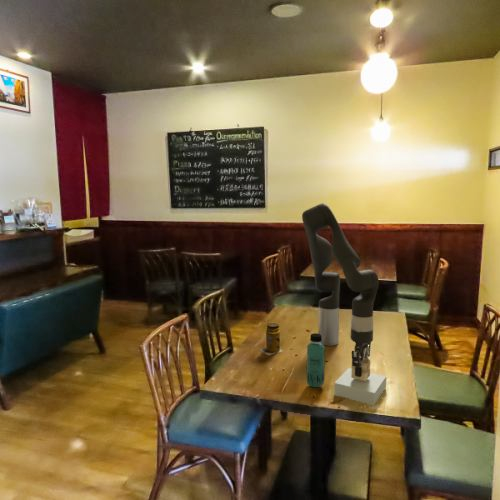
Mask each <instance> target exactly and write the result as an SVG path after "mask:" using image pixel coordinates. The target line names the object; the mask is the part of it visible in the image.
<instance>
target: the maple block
mask: <svg viewBox="0 0 500 500" xmlns="http://www.w3.org/2000/svg"><path fill="white" fill-rule="evenodd" d="M360 358H361V357H360ZM357 363H358V362H357ZM351 368H352V374H351V378H355V379H359V380H363V381H366V380H367V378H368V377H369V376H370V373H371V359H369V358H368V359H366V358H364V360H363V361H362V376H361V377H357V376H355V366H352V365H351Z"/></svg>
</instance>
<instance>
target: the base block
mask: <svg viewBox="0 0 500 500" xmlns="http://www.w3.org/2000/svg"><path fill="white" fill-rule="evenodd" d="M351 374H352V367H347V369H346V370H345V371H344V372H343V373H342V374H341V375H340V376H339V378H338V379H337V380H335V381H334V396H336V397H340V396H341V397H340V398H343V397H345V398H344V399H347V398H349V399H348V400H351V399H353V400H352V401H354V400H356V401H355V402H358V401H360V402H359V403H362V402H363V403H362V404H365V403H367V405H369V404H371V405H370V406H373V405H375V406H376V404H377V403H376V402H378V401H379V400H380V398H381V397H382V395H383V394H384V392H385V391H386V389H387V375H381V374H378V373H373V372H370V376H369V377H368V378H367V380H366V381H363V380H359V379H355V378H351ZM385 388H386V389H385ZM384 390H385V391H384ZM383 391H384V392H383ZM382 393H383V394H382ZM381 394H382V395H381ZM380 396H381V397H380ZM379 397H380V398H379ZM378 399H379V400H378ZM377 400H378V401H377ZM375 403H376V404H375Z"/></svg>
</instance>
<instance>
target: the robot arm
mask: <svg viewBox="0 0 500 500" xmlns="http://www.w3.org/2000/svg"><path fill="white" fill-rule="evenodd" d="M301 215H302V216H301V218H302V222H303V223H302V224H303V227H304V230H305V234H306V237H307V240H308V246H309V253H310V257H311V261H312V267H313V271H314V282H315V283H314V284H315V288H316V290H317V292H320V293H331V295H330V296H327V297H324V298H321V299H319V300H318V334H321V336H322V341H321V342H320V343H322V344H323V345H324V346H327V347H328V346H331V347H332V346H337V345H338V344H339V334H340V333H339V331H340V290H341V287H340V286H341V275H340V274H339V272H333V271H332V272H331V271H326V270H327V268H329V267H330V266H331V264H332V263H333V260H334V259H335V260H336V261H337V263H338V265H339V266H340V267H341V269H342V272H343V276H344V278H345V282H346V284H347V286H348V288H349V289H350V290H351V291H352V292H355V293H359V295H357V296H355V297H354V298H353V299H352V301H351V318H350V340H351V341H352V342H354V343H355V345H353V346H354V348H353V350H351V367H352V366H355V376H357V377H361V376H362V361H363V360H364V358H366V359H369V357H370V356H371V344H372V342H373V341H374V316H373V315H374V302H375V300H376V296H377V293H378V289H379V283H380V280H379V276H378V274H377V272H376V271H374V270H373V269H362V270H358V268H359V267H361V264H362V260H361V259H360V257H359V256H358V254H357V253H356V251H355V249H354V248H353V247H352V245H351V244H350V243H349V241H348V239H347V237H346V236H345V233H344V231H343V230H342V228H341V226H340V223H339V222H338V220H337V218H336V216H335V215H334V213H333V211H332V210H331V208H330V206H328V205H327V204H326V203H324V202H322V203H319V204H316V205H315V206H313V207H310V208H308V209H307V210H305V211H303V212H302V214H301ZM328 227H329V229H330V231H331V234H332V240H331V241H332V242H331V243H330V241H328V240H327V239H326V238H324V237H322V236H320V235H318V232H320V231H322V230H324V229H326V228H328ZM360 357H361V358H360ZM357 362H358V363H357Z"/></svg>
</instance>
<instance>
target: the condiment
mask: <svg viewBox="0 0 500 500" xmlns="http://www.w3.org/2000/svg"><path fill="white" fill-rule="evenodd" d="M279 327H280V326H279V323H276V322H271V323H268V324H267V325H266V332H265V333H266V334H265V336H266V337H265V339H266V341H265V343H266V347H264V348H260V349H259V351H260V352H262V353H263V354H265V355H267V356H271V355H274V354H279V353H282V352H284V350H283V349H281V339H280V338H281V333H280V328H279Z"/></svg>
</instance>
